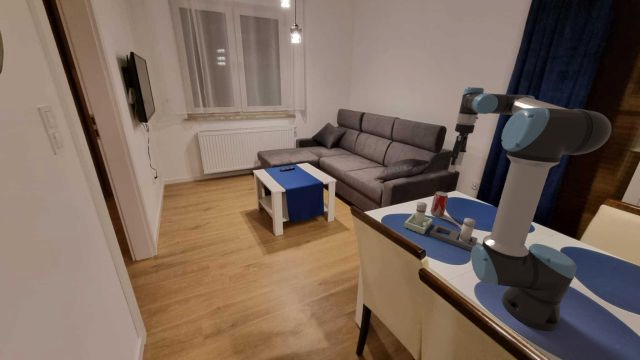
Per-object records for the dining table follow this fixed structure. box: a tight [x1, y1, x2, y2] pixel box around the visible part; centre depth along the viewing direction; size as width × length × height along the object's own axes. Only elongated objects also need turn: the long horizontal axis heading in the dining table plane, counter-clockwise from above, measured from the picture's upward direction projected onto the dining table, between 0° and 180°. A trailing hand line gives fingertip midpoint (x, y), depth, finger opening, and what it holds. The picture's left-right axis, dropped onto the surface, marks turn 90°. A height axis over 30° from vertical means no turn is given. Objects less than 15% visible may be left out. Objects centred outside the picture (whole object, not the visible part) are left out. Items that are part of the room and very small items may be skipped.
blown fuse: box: [414, 201, 428, 227], centre depth 132 cm, size 5×5×12 cm
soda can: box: [430, 190, 449, 218], centre depth 145 cm, size 7×7×13 cm
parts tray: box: [403, 212, 433, 235], centre depth 134 cm, size 13×10×3 cm
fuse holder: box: [429, 217, 478, 252], centre depth 122 cm, size 10×19×12 cm, turn 52°
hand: (454, 168), depth 124 cm, fingers open, 13 cm apart
